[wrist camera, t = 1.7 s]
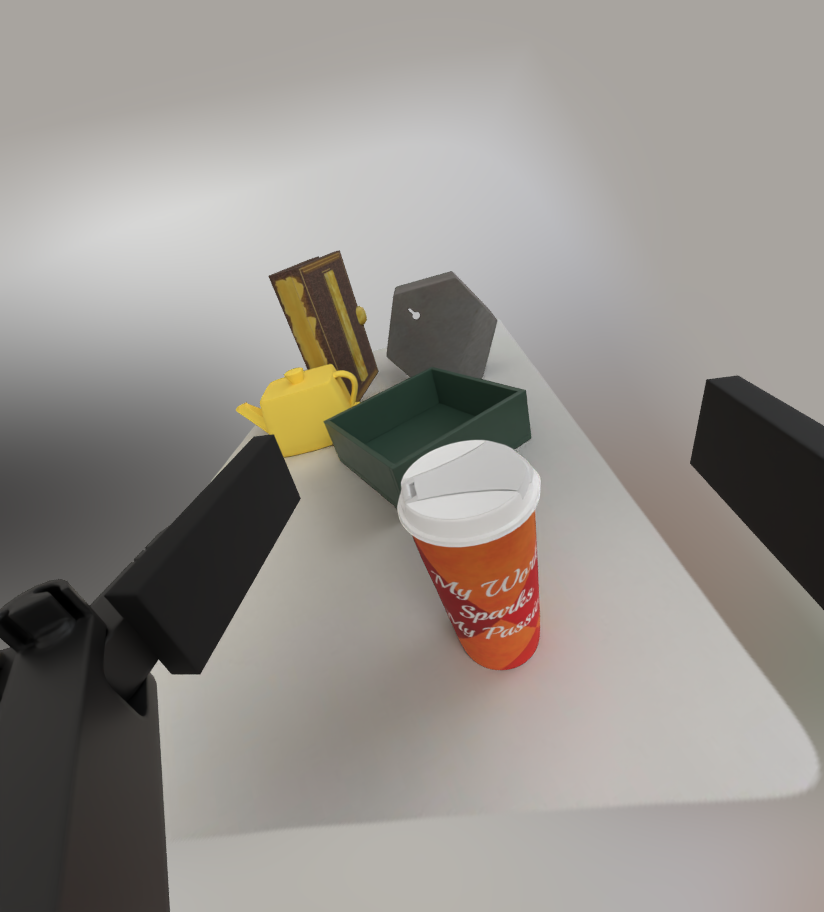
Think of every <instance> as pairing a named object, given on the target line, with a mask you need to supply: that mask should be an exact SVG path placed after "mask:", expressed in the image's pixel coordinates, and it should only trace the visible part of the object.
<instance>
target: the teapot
mask: <svg viewBox="0 0 824 912" xmlns="http://www.w3.org/2000/svg"><path fill="white" fill-rule="evenodd" d="M284 376H285V377H284V378H281V379H278V380H275V381H273V382H271V383H270V384H269V386H268V387H267V389H266V390H265V392H264V394H263V396H262V398H261V400H260V406H261V409H260V408H257V407H255V406H252V405H250V404H247V402H246V403H244V404H242V405H241V406H238V407H237V409H236V411H237V412H238V413H240V414H241V415H243V416H244V417H246V418H247V419H249V420H250V421H252V422H253V423H254V424H256V425H257V426H259V427H260V428H261V429H263V430H264V431H266V432H267V433H269V435H272V434H274V436H275V438H276V440H277V443H278V445H279V448H280V450H281V452H282V455H283V457H289V456H294V455H299V454H303V453H307V452H311V451H314V450H318V449H321V448H324V447H327V446H330V445H333V443H332V440H331V438H330V436H329V433H328V431H327V429H326V426H325V424H324V421H325V420H327V419H329V418H331V417H333V416H335V415H337V414H339V413H341V412H343V411H345V410H347V409H349V408H351V407H353V406H355V405H357V404H359V403H361V402H355V401H356V396H357V390H358V383H357V379H356V377H355V376H354V375H353V374H352V373H350V372H348V371H343V370H340V371H336V369H335V367H334V366H333V365H332V364H329V365H324V366H320V367H317V368H313V369H310V370H306V371H303V368H294V369H291V370H289V371H287V372H286V373H285V374H284ZM341 377H345V378H348V379H350V381H351V383H352V392H351V396H350V394H349V392H348V390H347V388H346V386H345V384H344V382H343V380H342V379H341Z"/></svg>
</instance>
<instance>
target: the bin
mask: <svg viewBox="0 0 824 912" xmlns="http://www.w3.org/2000/svg"><path fill="white" fill-rule="evenodd" d="M324 424H325V426H326V429H327V431H328V433H329V436H330V438H331V440H332V443H333V445H334V447H335V450H336V452H337V454H338V456H339V459H340V461H341V462H343V463H344V464H345V465H346V466H347V467H349V468H350V469H351V470H352V471H353V472H355V473H356V474H357V475H358V476H359V477H361V478H362V479H363V480H364V481H365V482H367V483H368V484H369V485H370V486H371V487H372V488H374V489H375V490H376V491H377V492H378V493H380V494H381V495H382V496H383V497H384V498H386V499H387V500H388V501H389V502H390V503H392V504H393V505H394V506H395V507H396V508H397V505H398V500H399V496H400V494H401V489H402V488H401V481H402V478H403V476H404V474H405V473H406V471H407V470H408V469H409V467H410V466H411V465H412V464H413V463H414V462H416V461H417V460H418V459H419V458H421V457H422V456H424V455H425V454H427V453H429V452H431V451H433V450H435V449H437V448H440V447H442V446H445V445H448V444H452V443H456V442H462V441H469V440H487V441H491V442H496V443H499V444H503V445H506V446H508V447H510V448H512V449H513V450H514V449H516V448H517V447H519V446H520V445H522V444H523V443H525V442H526V441H528V440H529V439H531V430H530V422H529V413H528V405H527V396H526V390H523V389H519V388H515V387H511V386H507V385H503V384H499V383H495V382H491V381H487V380H483V379H479V378H475V377H471V376H467V375H463V374H459V373H455V372H451V371H447V370H443V369H439V368H435V367H431V368H429V369H427V370H425V371H423V372H421V373H419V374H417V375H415V376H413V377H411V378H409V379H407V380H405V381H403V382H401V383H399V384H397V385H395V386H393V387H391V388H389V389H387V390H385V391H383V392H381V393H379V394H377V395H375V396H373V397H371V398H369V399H367V400H365V401H363V402H361V403H359V404H357V405H355V406H353V407H351V408H349V409H347V410H345V411H343V412H341V413H339V414H337V415H335V416H333V417H331V418H329V419H327V420H325V421H324Z"/></svg>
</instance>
